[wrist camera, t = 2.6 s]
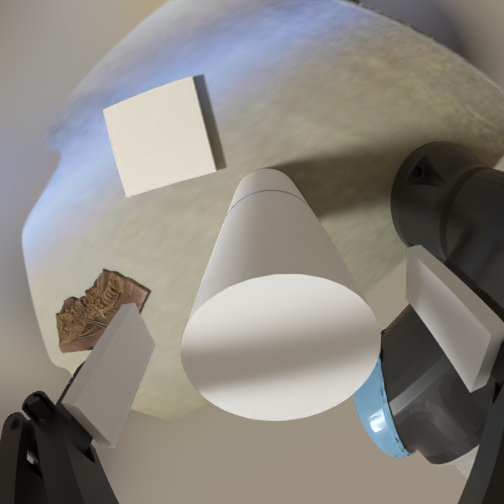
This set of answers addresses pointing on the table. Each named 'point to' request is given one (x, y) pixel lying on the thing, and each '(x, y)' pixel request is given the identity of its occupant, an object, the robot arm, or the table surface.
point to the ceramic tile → (160, 137)
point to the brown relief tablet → (96, 310)
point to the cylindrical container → (277, 311)
